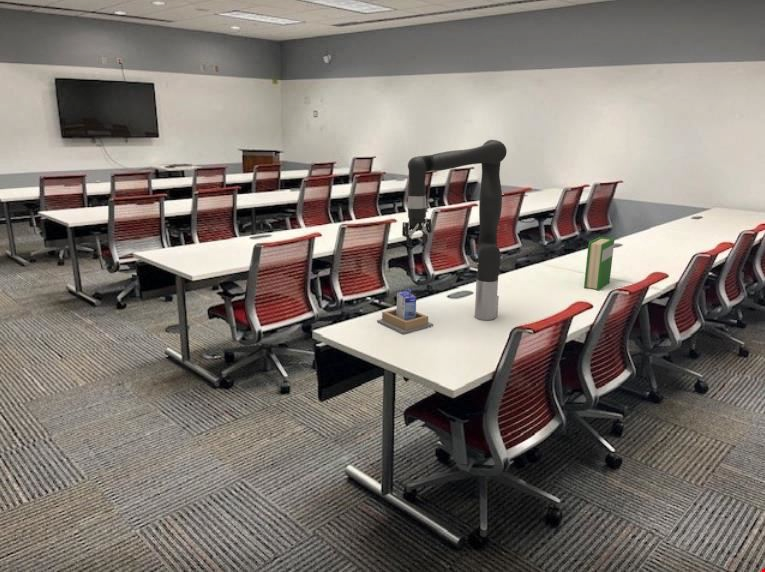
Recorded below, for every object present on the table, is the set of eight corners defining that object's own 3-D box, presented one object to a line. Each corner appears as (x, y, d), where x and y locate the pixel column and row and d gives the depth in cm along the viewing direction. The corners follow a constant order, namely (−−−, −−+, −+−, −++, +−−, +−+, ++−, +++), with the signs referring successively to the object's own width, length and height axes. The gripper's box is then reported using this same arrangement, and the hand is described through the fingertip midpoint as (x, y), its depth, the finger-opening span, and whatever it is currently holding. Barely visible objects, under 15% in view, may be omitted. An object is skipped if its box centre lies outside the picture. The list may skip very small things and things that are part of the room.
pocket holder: (406, 314, 254) (406, 305, 252) (433, 326, 240) (433, 316, 239) (377, 322, 244) (377, 312, 243) (403, 334, 231) (403, 324, 229)
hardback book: (598, 290, 288) (603, 244, 281) (583, 288, 293) (588, 242, 286) (609, 283, 302) (614, 238, 295) (595, 280, 306) (600, 236, 299)
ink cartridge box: (416, 325, 238) (417, 291, 234) (404, 326, 237) (404, 293, 233) (407, 317, 247) (408, 285, 243) (395, 319, 246) (396, 286, 242)
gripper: (423, 203, 244) (423, 241, 248) (397, 207, 235) (398, 246, 240) (435, 205, 238) (435, 243, 243) (409, 209, 230) (410, 248, 234)
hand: (417, 244), depth 241 cm, fingers open, 8 cm apart
